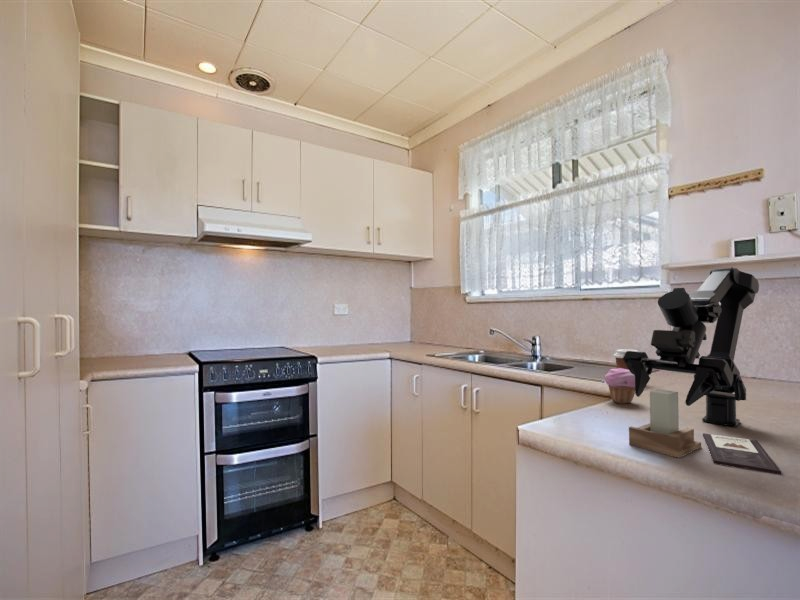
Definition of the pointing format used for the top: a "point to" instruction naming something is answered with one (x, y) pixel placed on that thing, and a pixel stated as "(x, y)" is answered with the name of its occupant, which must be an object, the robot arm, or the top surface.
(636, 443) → the tray
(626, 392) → the cupcake
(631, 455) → the top surface
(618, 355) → the coffee cup
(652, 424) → the pale green rectangular block
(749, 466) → the chocolate bar
